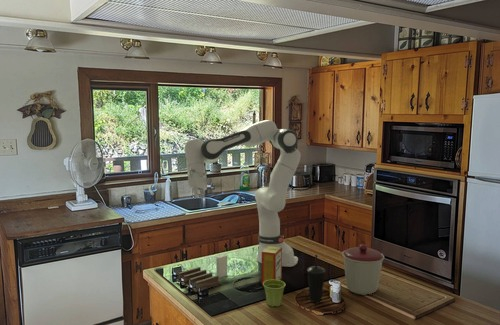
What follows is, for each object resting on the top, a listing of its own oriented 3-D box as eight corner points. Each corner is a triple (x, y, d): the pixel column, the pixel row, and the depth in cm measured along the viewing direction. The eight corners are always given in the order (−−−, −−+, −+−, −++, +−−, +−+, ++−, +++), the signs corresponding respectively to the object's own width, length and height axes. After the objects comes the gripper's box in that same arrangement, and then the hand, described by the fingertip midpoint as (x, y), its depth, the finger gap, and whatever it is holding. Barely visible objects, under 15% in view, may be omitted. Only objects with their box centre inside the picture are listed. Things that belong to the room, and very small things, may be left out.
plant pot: (271, 296, 180) (271, 277, 179) (289, 302, 174) (289, 283, 173) (258, 304, 172) (258, 284, 171) (276, 311, 166) (276, 290, 165)
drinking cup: (324, 297, 179) (324, 252, 177) (325, 305, 171) (326, 258, 169) (306, 296, 180) (306, 251, 177) (306, 304, 172) (307, 257, 170)
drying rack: (176, 282, 195) (176, 273, 194) (200, 274, 204) (200, 266, 204) (195, 293, 183) (195, 283, 183) (220, 284, 192) (220, 275, 192)
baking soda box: (274, 286, 190) (275, 252, 188) (261, 284, 193) (261, 250, 191) (281, 279, 199) (281, 246, 197) (268, 276, 202) (268, 245, 200)
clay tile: (216, 276, 202) (216, 256, 201) (224, 274, 205) (224, 254, 204) (219, 278, 200) (218, 258, 199) (227, 275, 204) (227, 255, 203)
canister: (354, 301, 175) (355, 253, 172) (334, 284, 192) (335, 240, 190) (391, 296, 180) (393, 249, 177) (368, 280, 197) (370, 237, 195)
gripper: (196, 166, 199) (199, 195, 196) (207, 172, 219) (211, 198, 216) (183, 169, 200) (187, 197, 197) (196, 174, 220) (199, 200, 217)
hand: (199, 197), depth 207 cm, fingers open, 8 cm apart
